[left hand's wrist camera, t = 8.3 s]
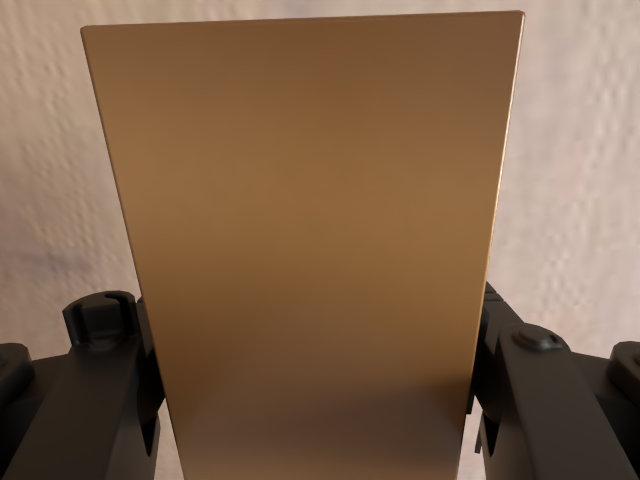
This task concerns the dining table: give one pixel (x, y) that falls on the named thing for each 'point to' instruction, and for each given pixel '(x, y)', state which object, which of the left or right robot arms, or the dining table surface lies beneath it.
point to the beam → (311, 230)
